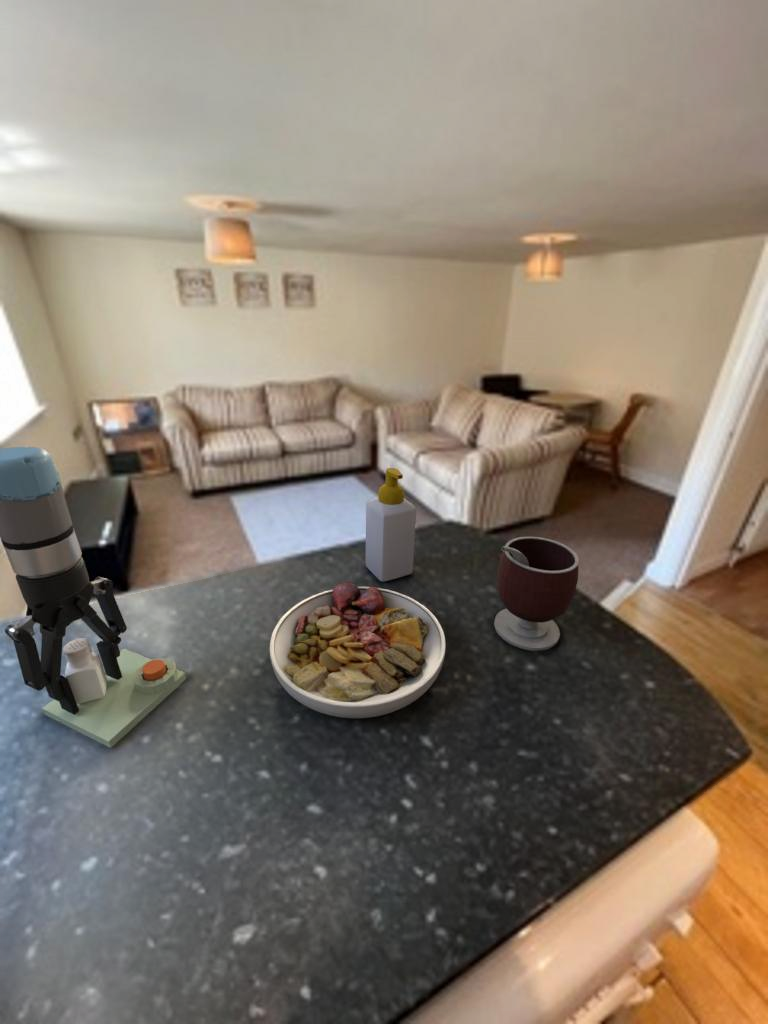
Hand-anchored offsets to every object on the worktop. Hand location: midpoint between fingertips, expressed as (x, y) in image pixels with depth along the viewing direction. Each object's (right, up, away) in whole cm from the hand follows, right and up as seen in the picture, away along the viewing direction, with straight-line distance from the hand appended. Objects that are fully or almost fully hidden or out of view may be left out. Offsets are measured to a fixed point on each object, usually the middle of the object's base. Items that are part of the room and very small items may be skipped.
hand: (93, 691), depth 69 cm
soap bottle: (+46, +14, +37) cm, 61 cm away
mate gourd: (+72, +5, +18) cm, 75 cm away
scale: (+3, -1, +2) cm, 4 cm away
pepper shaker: (0, 0, 0) cm, 1 cm away
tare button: (+8, +2, +3) cm, 9 cm away
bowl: (+41, +2, +10) cm, 42 cm away
